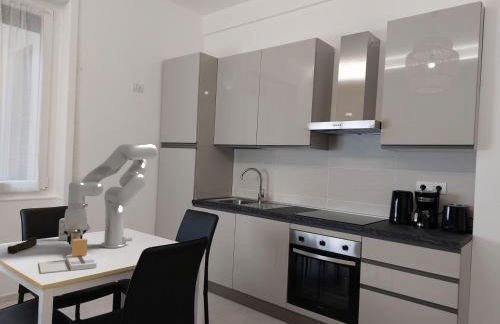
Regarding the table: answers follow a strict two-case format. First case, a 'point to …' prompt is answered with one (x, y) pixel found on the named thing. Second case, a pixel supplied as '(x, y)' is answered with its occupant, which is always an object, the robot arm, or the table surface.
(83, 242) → the slide tab
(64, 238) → the ink box
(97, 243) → the table surface
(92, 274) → the table surface
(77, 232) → the tan block on stem
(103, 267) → the table surface
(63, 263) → the tool mat
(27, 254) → the table surface
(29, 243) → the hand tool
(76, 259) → the switch housing
